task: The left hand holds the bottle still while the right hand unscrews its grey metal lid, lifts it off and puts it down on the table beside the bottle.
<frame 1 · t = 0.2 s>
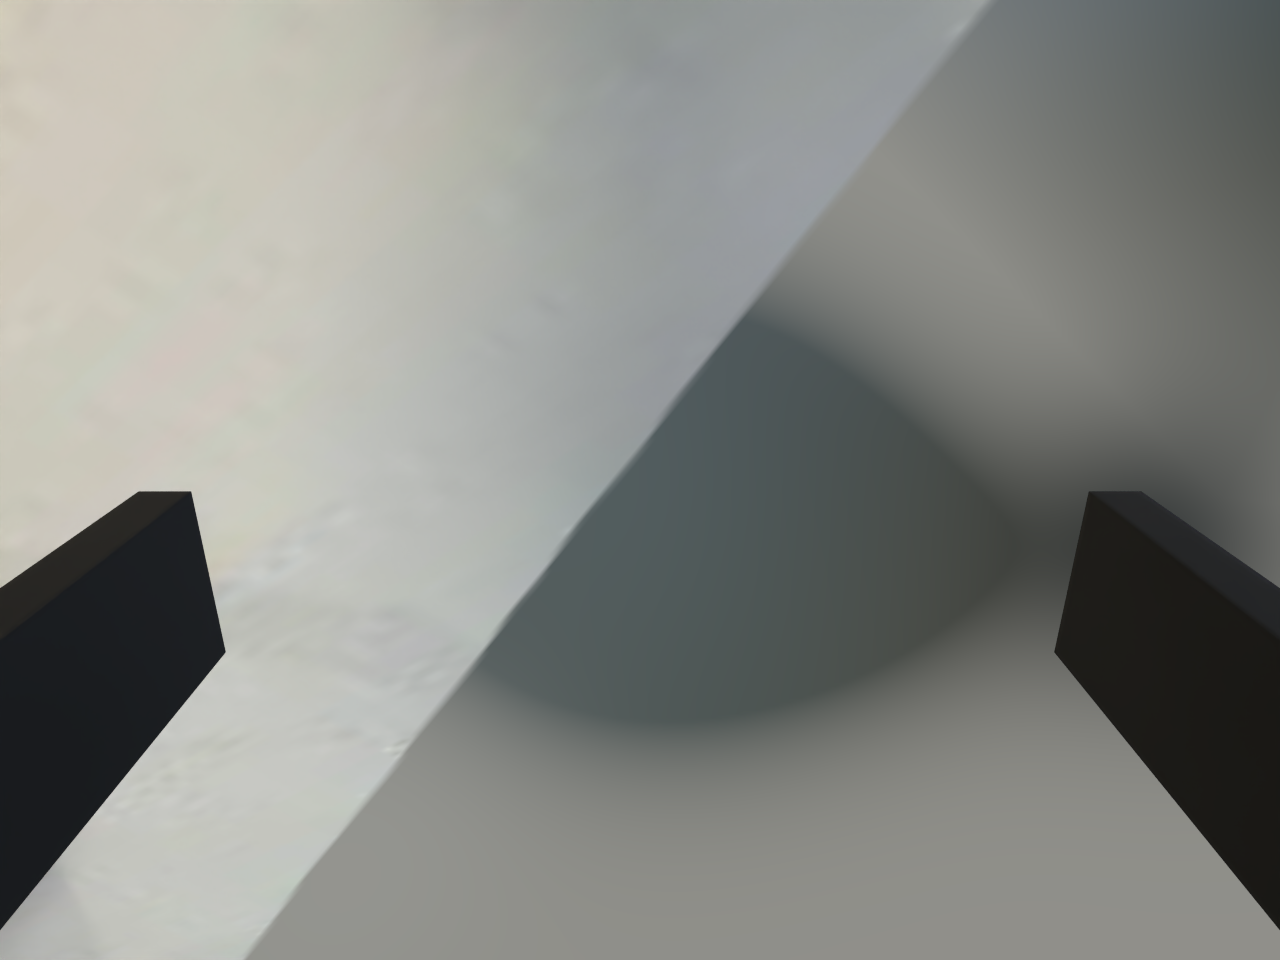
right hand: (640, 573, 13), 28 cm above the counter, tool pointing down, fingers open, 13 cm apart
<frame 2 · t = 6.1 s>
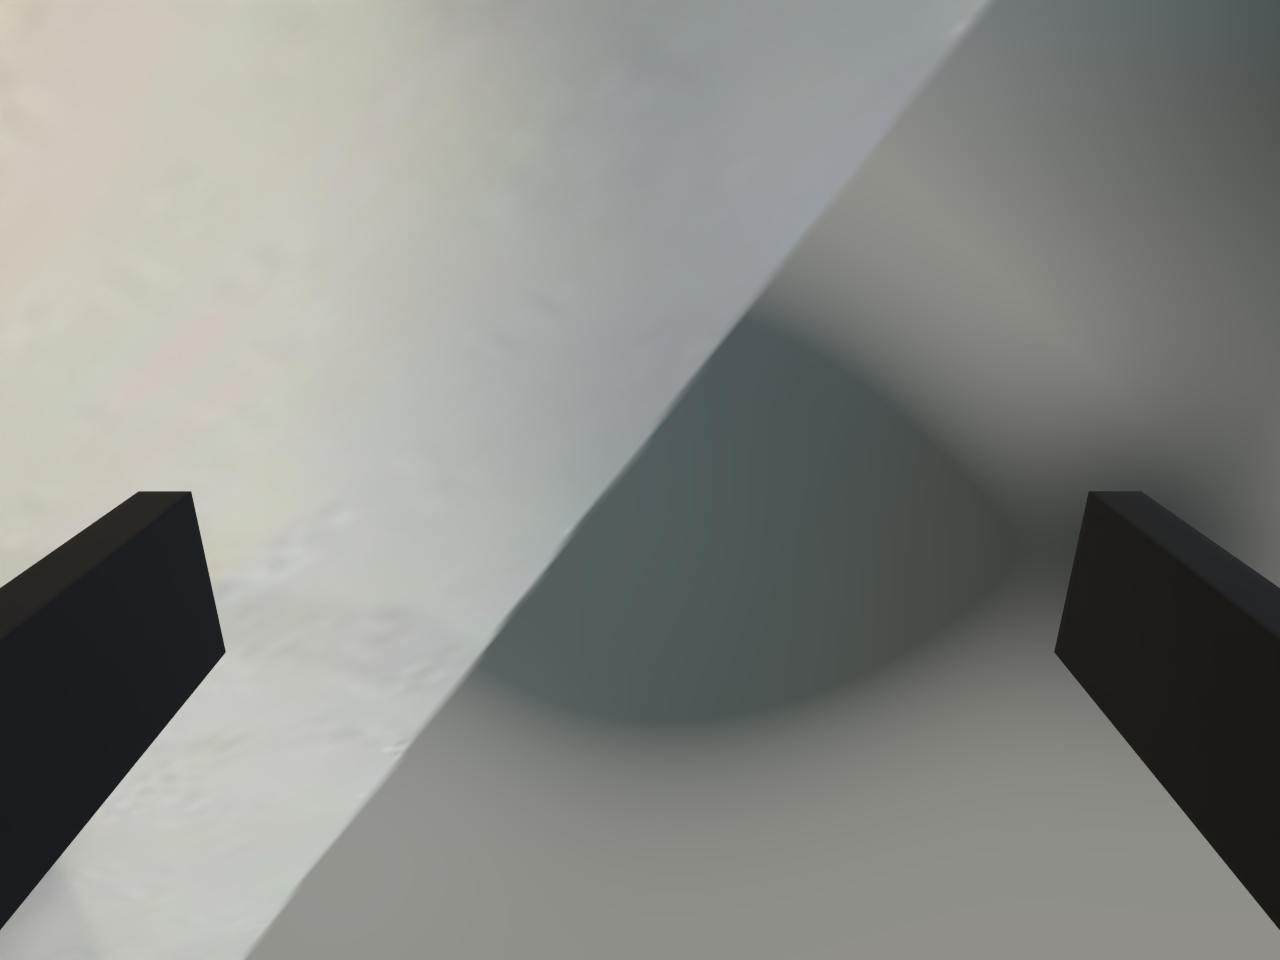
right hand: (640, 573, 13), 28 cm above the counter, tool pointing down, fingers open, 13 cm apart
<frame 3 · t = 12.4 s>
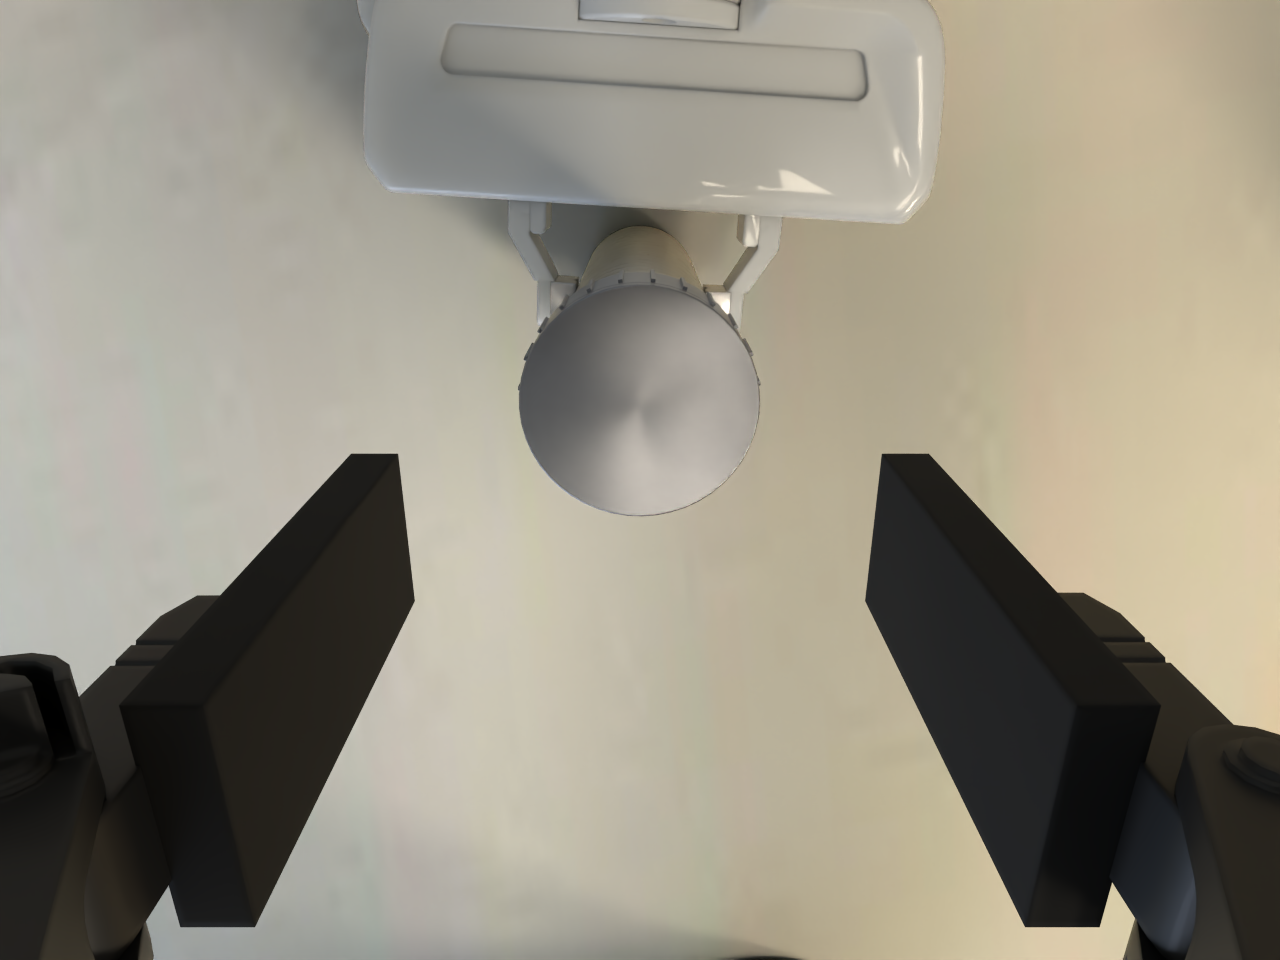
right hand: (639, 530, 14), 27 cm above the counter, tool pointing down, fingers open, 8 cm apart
left hand: (639, 329, 33), fingers closed on bottle, 5 cm apart
bottle: (639, 282, 39), on the counter, touching left hand
lid: (639, 402, 21), point 19 cm above the counter, screwed on, not yet turned
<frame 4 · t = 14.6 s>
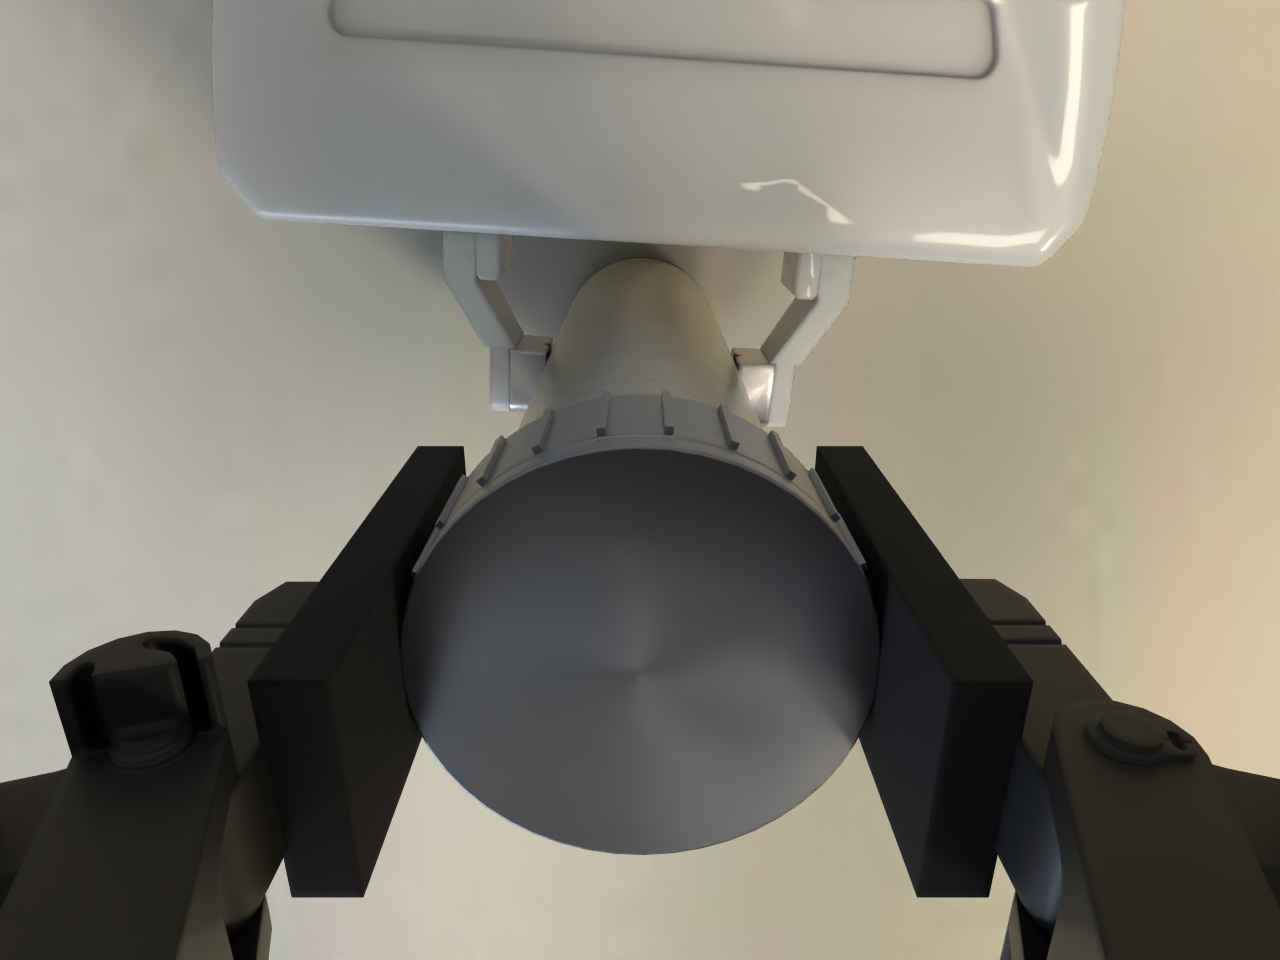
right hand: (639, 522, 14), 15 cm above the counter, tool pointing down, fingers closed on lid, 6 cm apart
left hand: (640, 413, 23), fingers closed on bottle, 5 cm apart
bottle: (640, 333, 28), on the counter, touching left hand
lid: (640, 656, 11), point 19 cm above the counter, screwed on, not yet turned, touching right hand
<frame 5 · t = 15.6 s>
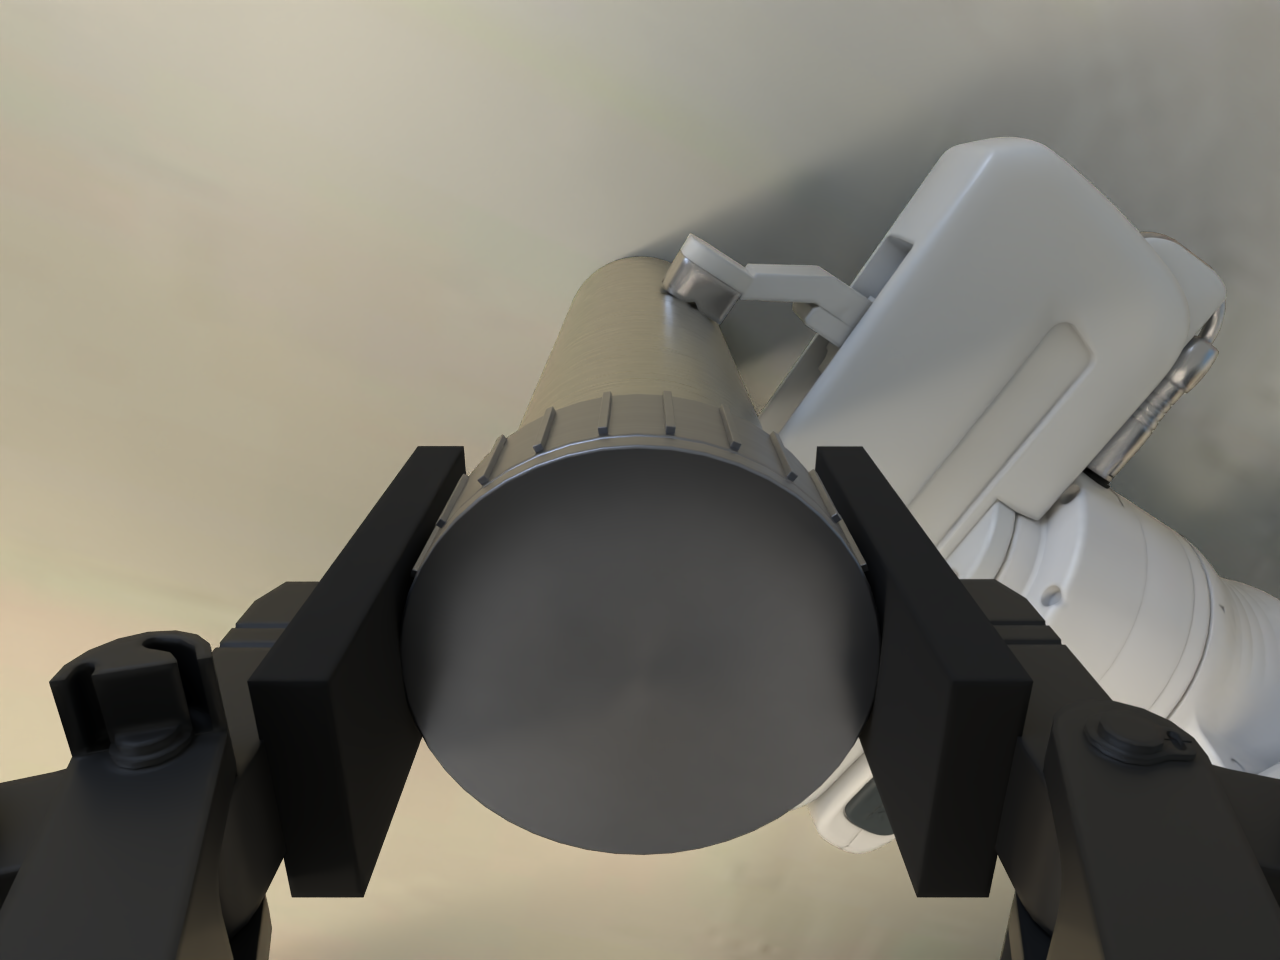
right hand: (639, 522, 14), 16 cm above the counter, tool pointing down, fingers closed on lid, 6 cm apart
left hand: (611, 362, 23), fingers closed on bottle, 5 cm apart
bottle: (640, 331, 29), on the counter, touching left hand
lid: (640, 656, 11), point 20 cm above the counter, off its thread, touching right hand
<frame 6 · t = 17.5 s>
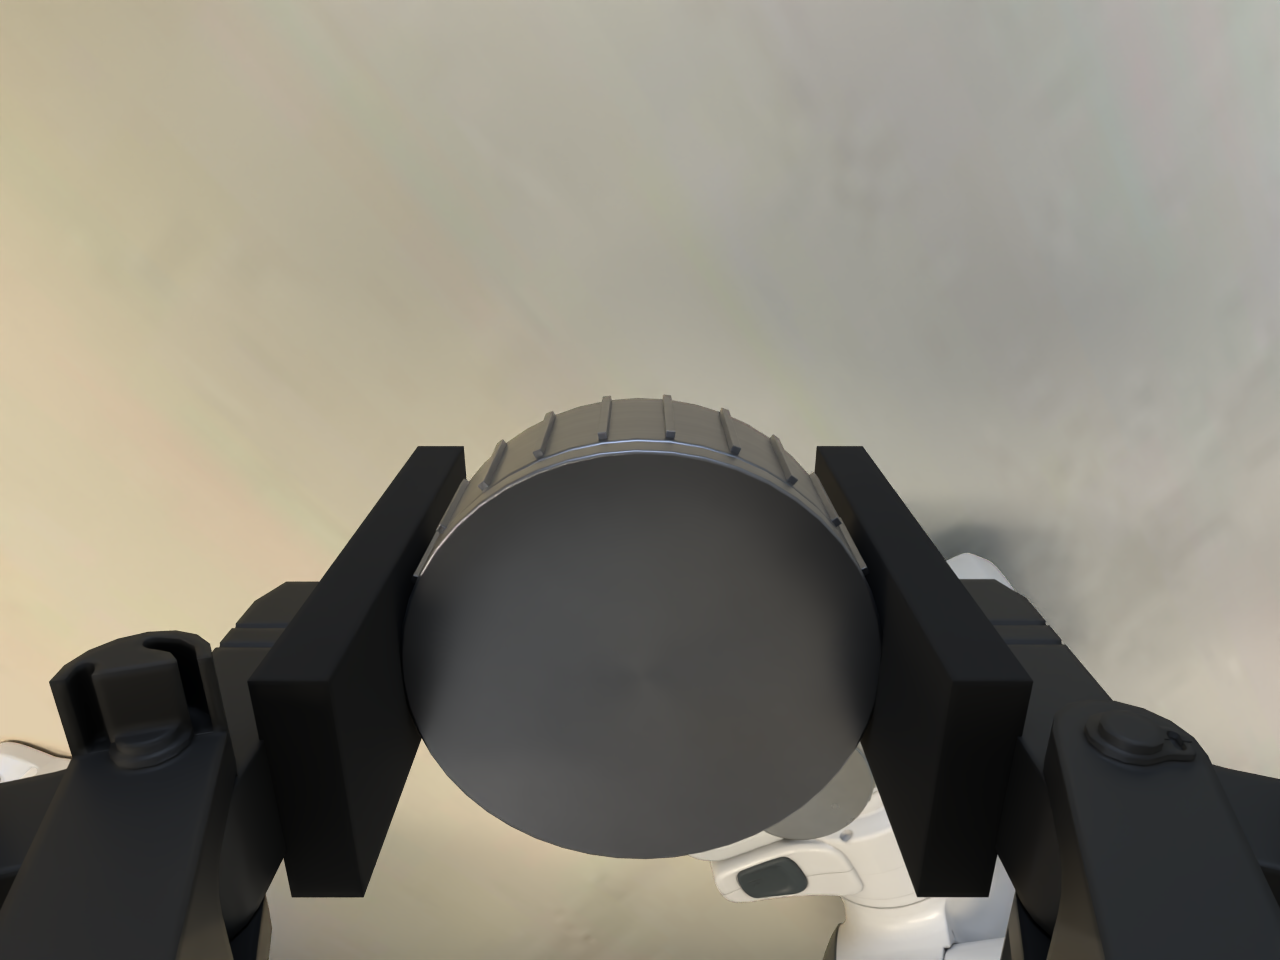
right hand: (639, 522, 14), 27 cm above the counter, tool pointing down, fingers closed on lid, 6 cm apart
bottle: (742, 534, 44), on the counter, touching left hand
lid: (641, 660, 11), point 31 cm above the counter, off its thread, touching right hand
when the right hand's fingers open (0 cm above the counter, at t = 22.0 s): lid drops 2 cm, point 2 cm above the counter.
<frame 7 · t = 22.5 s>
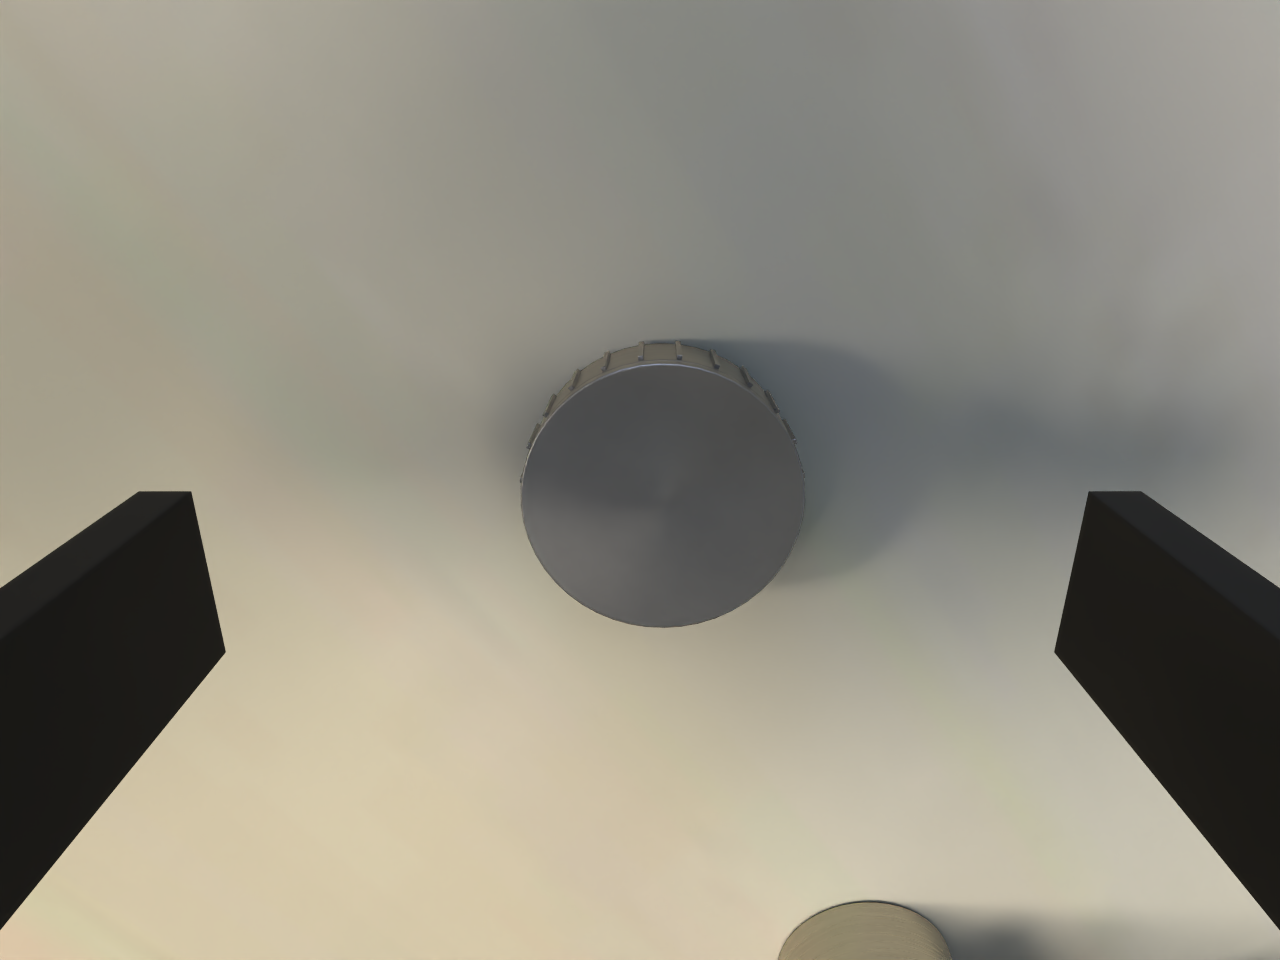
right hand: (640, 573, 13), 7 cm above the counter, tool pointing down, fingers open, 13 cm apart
lid: (662, 497, 18), point 2 cm above the counter, off its thread
when the left hand's fingers open (6 cm above the counter, at t = 22.7 s): bottle stays where it is, on the counter.
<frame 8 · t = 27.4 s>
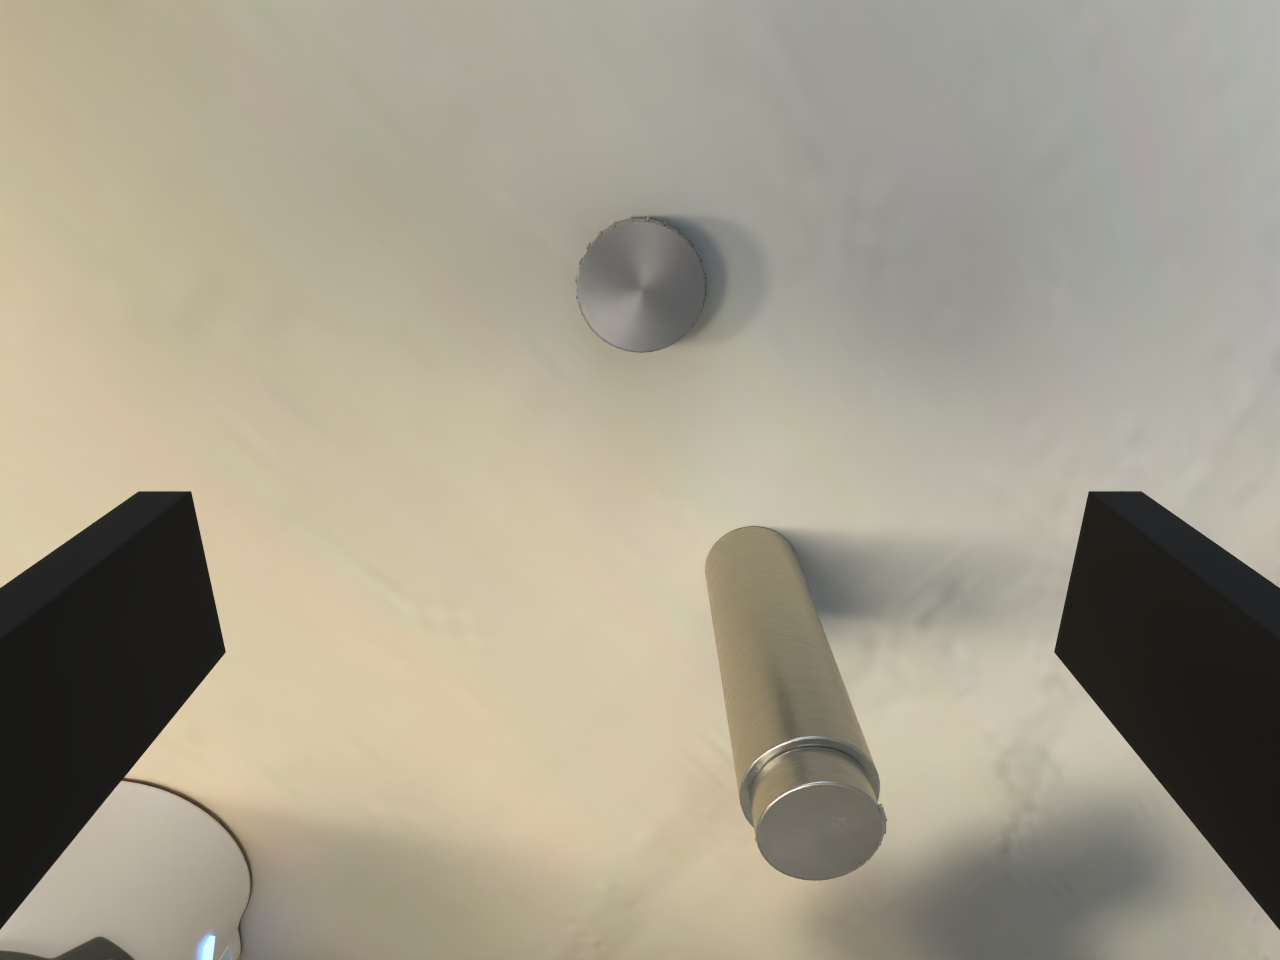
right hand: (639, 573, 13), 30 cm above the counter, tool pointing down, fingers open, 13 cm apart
bottle: (750, 567, 46), on the counter
lid: (641, 287, 39), point 2 cm above the counter, off its thread
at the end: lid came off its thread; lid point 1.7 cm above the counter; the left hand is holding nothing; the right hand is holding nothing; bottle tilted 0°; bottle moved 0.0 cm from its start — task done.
